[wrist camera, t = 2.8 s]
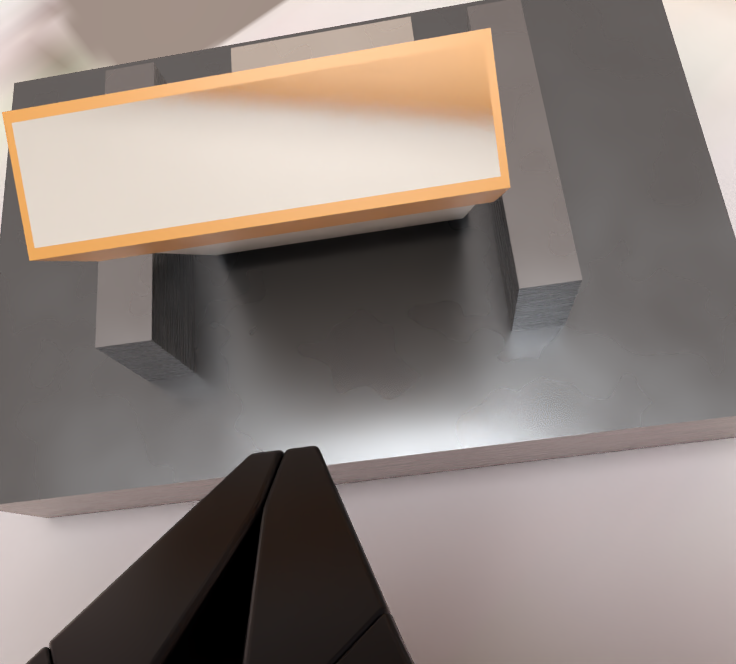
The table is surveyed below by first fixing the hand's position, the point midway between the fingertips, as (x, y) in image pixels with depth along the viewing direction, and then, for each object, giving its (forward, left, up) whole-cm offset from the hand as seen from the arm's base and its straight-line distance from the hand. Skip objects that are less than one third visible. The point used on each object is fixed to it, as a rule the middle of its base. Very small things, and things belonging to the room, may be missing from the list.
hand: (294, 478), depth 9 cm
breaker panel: (+6, +4, -10) cm, 12 cm away
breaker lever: (+6, +4, -6) cm, 9 cm away
